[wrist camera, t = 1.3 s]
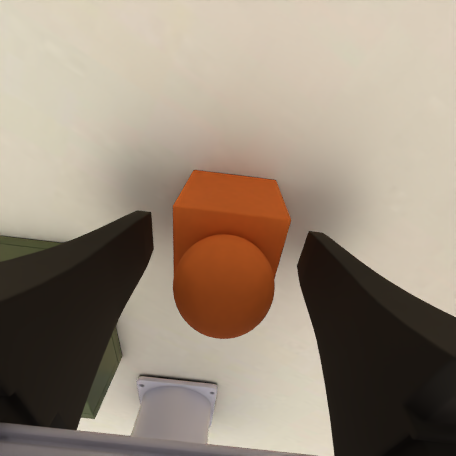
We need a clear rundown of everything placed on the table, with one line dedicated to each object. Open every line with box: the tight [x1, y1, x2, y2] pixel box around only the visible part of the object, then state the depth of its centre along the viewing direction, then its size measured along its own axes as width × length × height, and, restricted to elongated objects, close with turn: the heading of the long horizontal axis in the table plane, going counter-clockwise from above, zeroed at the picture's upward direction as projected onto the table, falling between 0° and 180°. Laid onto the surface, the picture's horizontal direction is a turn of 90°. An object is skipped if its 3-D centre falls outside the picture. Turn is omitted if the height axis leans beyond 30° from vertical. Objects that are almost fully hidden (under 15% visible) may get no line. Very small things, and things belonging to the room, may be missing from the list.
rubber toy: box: [173, 170, 291, 339], centre depth 10 cm, size 4×4×8 cm
